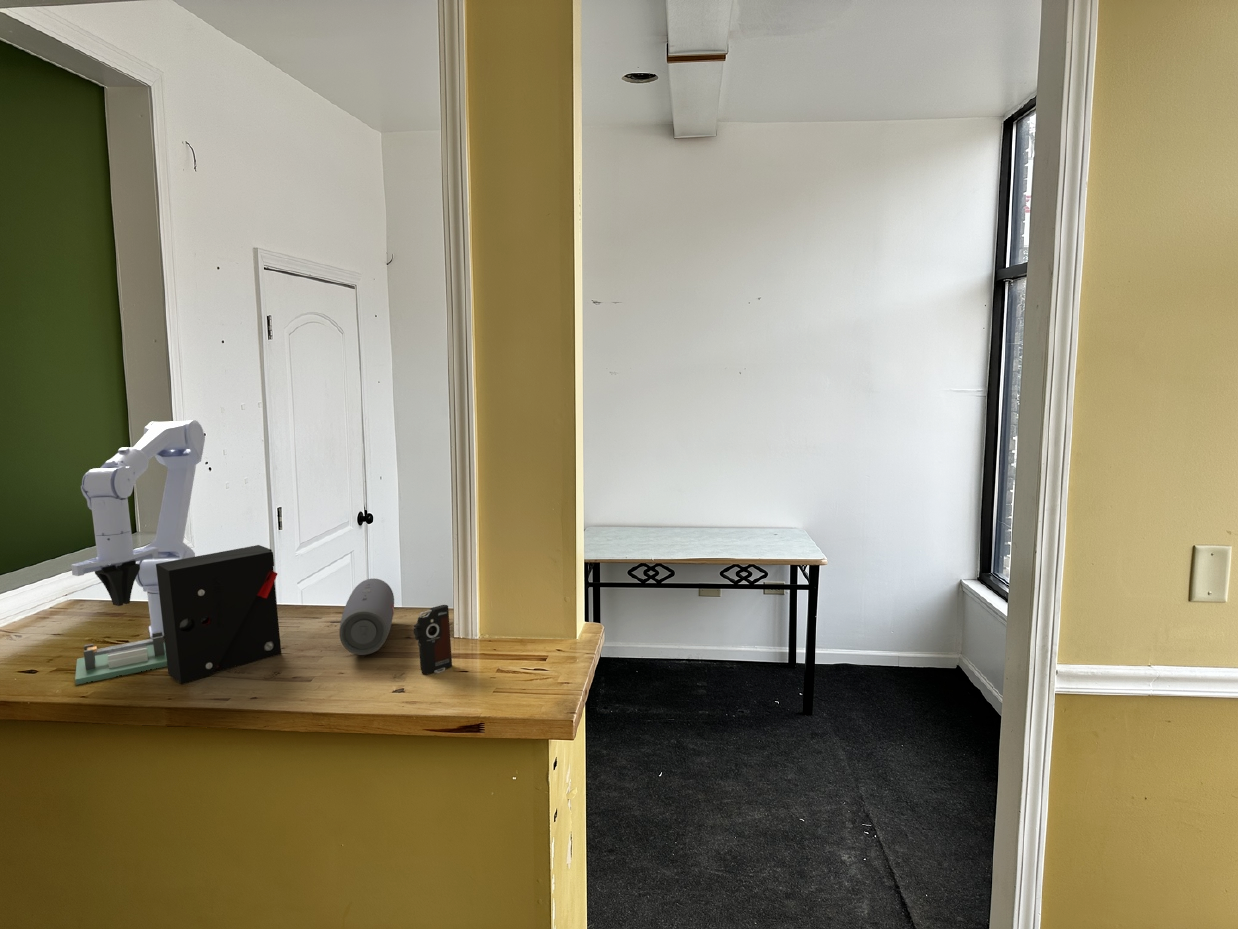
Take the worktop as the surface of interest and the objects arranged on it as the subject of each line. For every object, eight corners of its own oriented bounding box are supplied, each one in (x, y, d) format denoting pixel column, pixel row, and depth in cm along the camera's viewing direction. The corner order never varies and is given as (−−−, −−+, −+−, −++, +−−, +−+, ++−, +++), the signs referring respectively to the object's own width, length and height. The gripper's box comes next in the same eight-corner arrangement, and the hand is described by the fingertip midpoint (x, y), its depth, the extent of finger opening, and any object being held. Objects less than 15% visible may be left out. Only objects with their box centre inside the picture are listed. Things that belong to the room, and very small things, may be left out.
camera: (421, 677, 137) (417, 615, 136) (415, 672, 140) (410, 611, 138) (455, 668, 141) (451, 607, 140) (449, 663, 143) (445, 603, 142)
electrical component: (264, 643, 157) (254, 543, 154) (285, 656, 150) (275, 551, 147) (164, 670, 145) (152, 561, 142) (182, 685, 138) (169, 571, 135)
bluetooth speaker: (392, 659, 147) (388, 605, 145) (338, 665, 145) (334, 611, 143) (398, 620, 169) (395, 573, 167) (351, 624, 167) (348, 577, 165)
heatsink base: (175, 645, 158) (173, 623, 157) (180, 663, 148) (178, 640, 147) (77, 664, 149) (74, 641, 149) (75, 685, 139) (72, 660, 139)
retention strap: (160, 640, 152) (159, 633, 152) (161, 643, 150) (160, 636, 150) (88, 654, 146) (87, 647, 146) (88, 658, 144) (87, 650, 144)
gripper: (139, 523, 157) (147, 591, 159) (58, 539, 144) (68, 612, 146) (161, 526, 153) (169, 595, 155) (80, 542, 141) (89, 617, 143)
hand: (121, 604), depth 150 cm, fingers closed
